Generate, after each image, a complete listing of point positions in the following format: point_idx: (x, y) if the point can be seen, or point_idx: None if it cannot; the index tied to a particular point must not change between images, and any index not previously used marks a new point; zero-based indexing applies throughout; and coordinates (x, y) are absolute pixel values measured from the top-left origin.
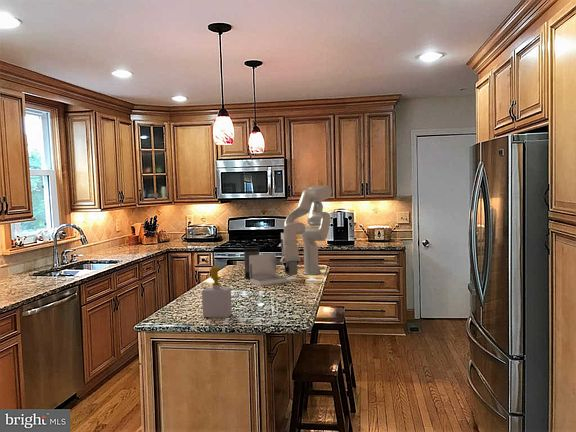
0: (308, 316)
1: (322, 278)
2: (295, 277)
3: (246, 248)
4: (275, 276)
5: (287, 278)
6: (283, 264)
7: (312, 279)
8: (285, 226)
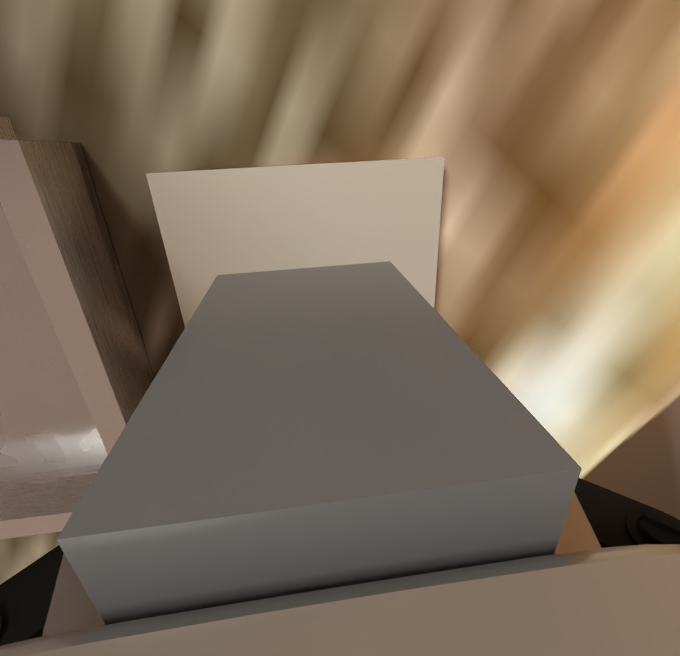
0: None
1: (656, 412)
2: (431, 238)
3: None
4: (5, 184)
5: (280, 243)
6: (12, 600)
7: (544, 410)
8: None
